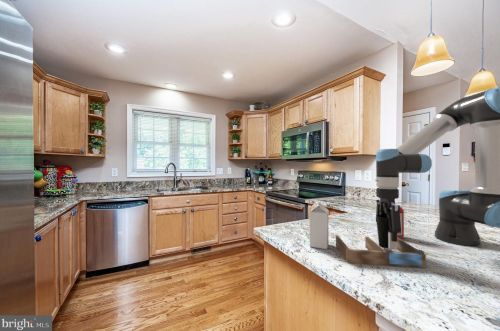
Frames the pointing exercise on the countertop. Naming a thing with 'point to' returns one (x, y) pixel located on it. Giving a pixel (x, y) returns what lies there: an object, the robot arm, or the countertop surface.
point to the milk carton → (319, 227)
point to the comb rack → (383, 254)
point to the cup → (383, 231)
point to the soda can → (401, 235)
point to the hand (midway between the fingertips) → (387, 245)
